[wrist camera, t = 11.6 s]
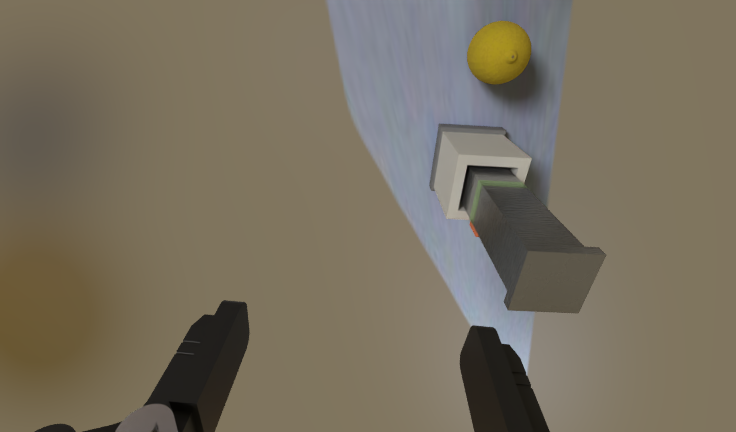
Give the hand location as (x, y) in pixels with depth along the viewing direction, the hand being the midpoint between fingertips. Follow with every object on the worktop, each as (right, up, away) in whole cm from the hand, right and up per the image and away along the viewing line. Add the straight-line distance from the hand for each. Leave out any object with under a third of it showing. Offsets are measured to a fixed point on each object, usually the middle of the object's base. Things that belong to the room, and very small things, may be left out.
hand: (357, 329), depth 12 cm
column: (+12, +8, +24) cm, 28 cm away
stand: (+12, +11, +30) cm, 35 cm away
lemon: (+13, +22, +25) cm, 35 cm away
